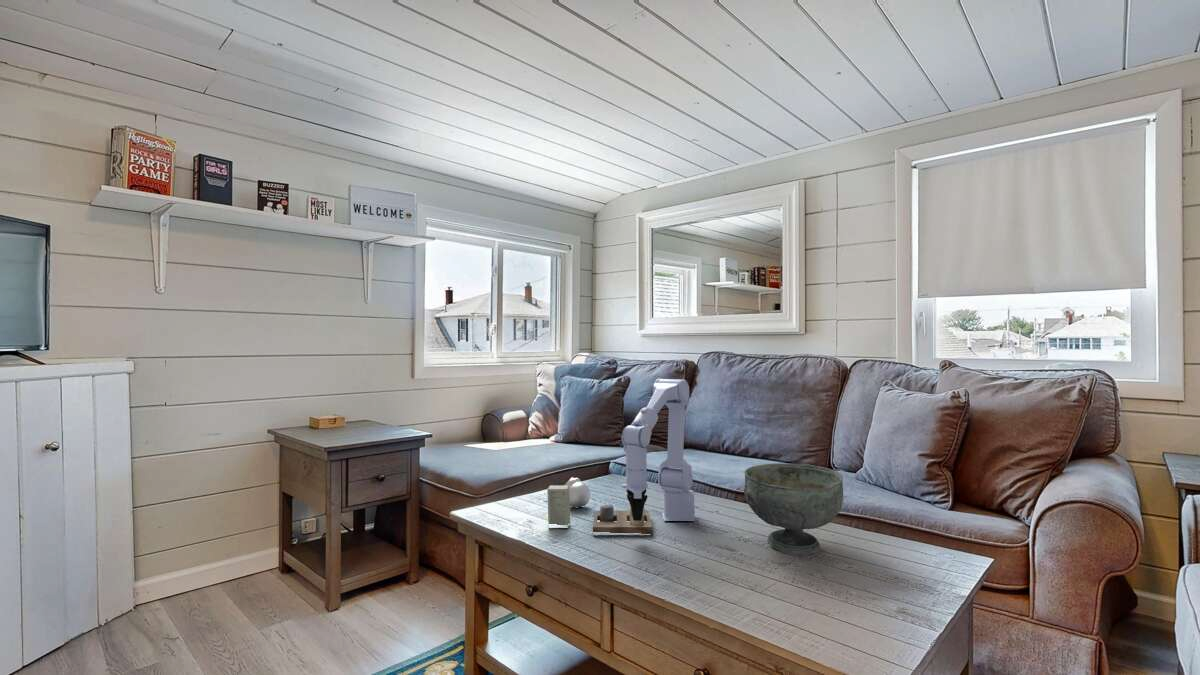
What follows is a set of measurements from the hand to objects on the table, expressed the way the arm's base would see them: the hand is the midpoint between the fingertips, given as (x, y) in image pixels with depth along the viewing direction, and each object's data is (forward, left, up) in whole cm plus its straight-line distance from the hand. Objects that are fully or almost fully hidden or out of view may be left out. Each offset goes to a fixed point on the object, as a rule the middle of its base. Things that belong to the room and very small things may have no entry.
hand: (637, 517), depth 159 cm
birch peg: (0, 0, -2) cm, 2 cm away
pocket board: (+4, -13, -7) cm, 15 cm away
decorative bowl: (-42, +4, -7) cm, 43 cm away
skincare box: (+23, -13, -7) cm, 27 cm away
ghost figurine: (+19, -33, -7) cm, 39 cm away
